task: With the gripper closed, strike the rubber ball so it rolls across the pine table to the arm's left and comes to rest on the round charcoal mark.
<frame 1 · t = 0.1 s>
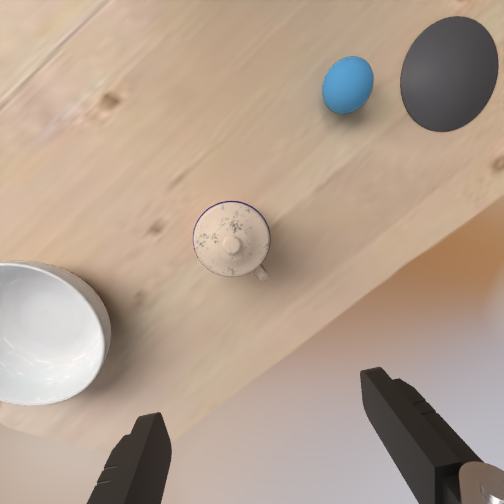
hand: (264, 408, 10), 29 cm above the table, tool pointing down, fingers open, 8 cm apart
ball: (347, 86, 31), on the table
charcoal disc: (448, 77, 35), on the table
serving bowl: (58, 315, 39), on the table
teacup with lid: (238, 237, 38), on the table
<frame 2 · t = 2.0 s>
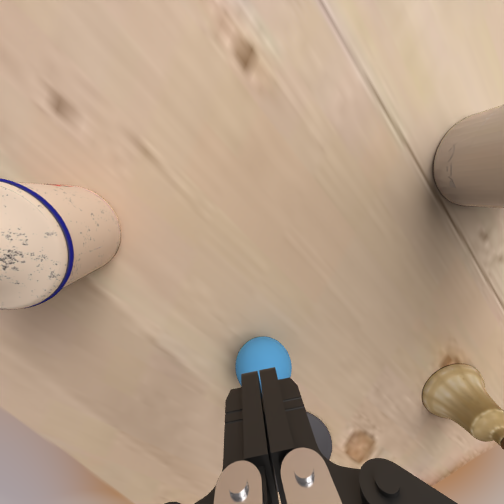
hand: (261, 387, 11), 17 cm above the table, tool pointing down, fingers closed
ball: (263, 366, 27), on the table
charcoal disc: (280, 451, 33), on the table
hand bell: (450, 388, 33), on the table
teacup with lid: (69, 237, 25), on the table
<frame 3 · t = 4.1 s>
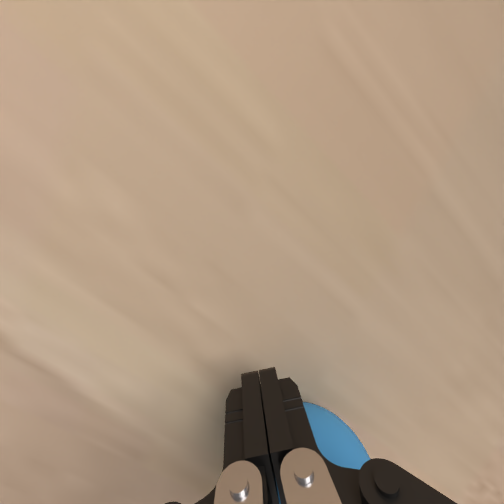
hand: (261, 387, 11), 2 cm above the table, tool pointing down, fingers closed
ball: (304, 483, 11), on the table, touching gripper
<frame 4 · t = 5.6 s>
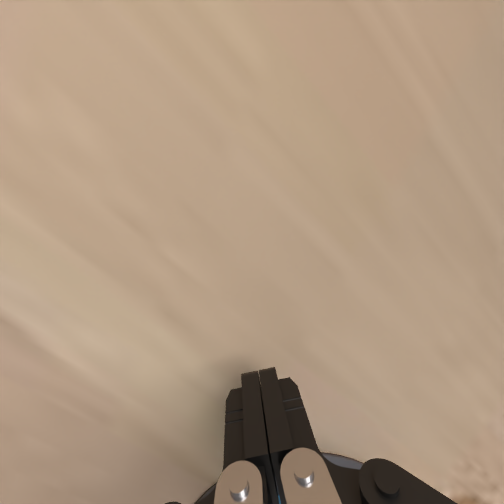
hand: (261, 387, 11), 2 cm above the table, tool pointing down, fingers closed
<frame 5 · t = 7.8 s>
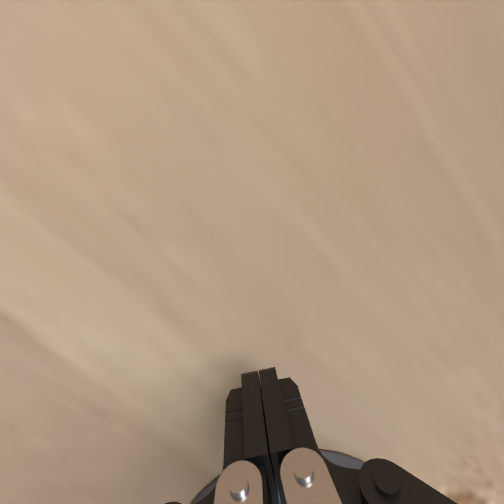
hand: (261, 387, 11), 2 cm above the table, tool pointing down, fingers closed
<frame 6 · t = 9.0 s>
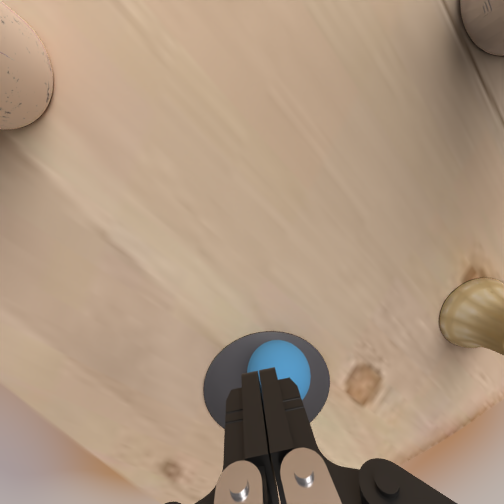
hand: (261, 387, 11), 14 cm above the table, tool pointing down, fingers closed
ball: (278, 373, 24), on the table
charcoal disc: (267, 387, 27), on the table
hand bell: (473, 312, 27), on the table
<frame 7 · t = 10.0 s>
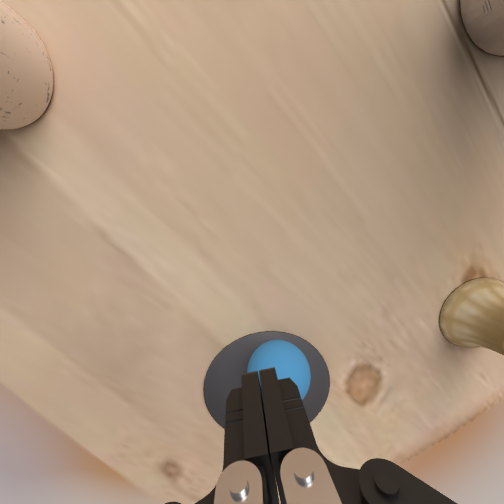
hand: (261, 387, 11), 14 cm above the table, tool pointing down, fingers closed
ball: (278, 373, 24), on the table
charcoal disc: (267, 387, 28), on the table
hand bell: (473, 312, 27), on the table
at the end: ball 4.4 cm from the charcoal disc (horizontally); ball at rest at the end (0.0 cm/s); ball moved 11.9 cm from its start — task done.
